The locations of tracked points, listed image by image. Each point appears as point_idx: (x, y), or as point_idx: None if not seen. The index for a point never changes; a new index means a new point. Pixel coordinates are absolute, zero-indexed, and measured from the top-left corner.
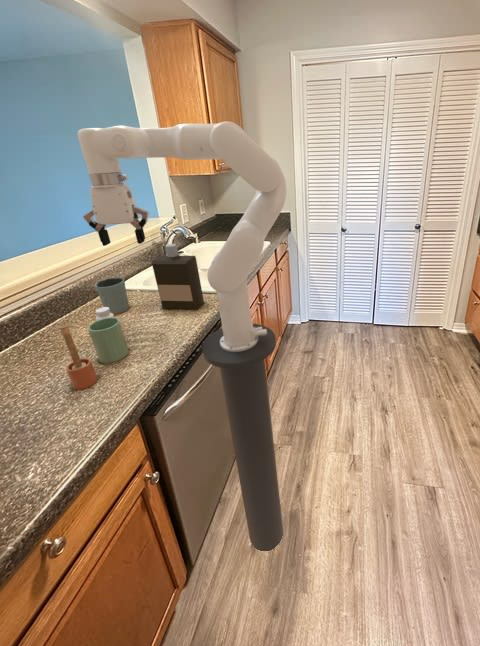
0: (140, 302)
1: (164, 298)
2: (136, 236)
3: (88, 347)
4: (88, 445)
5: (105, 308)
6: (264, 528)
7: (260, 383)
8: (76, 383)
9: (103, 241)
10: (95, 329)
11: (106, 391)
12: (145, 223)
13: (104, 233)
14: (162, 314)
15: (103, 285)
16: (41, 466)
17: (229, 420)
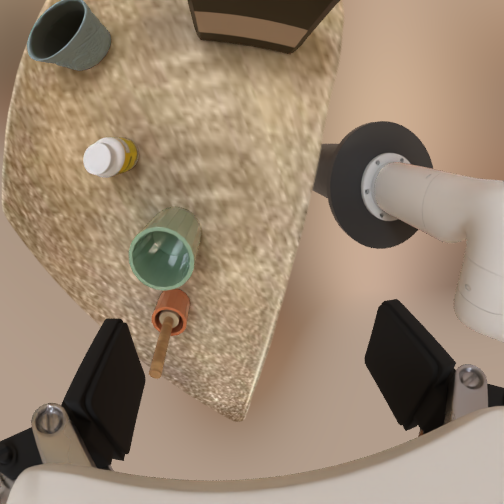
0: (129, 13)
1: (211, 30)
2: (385, 393)
3: (108, 203)
4: (248, 381)
5: (101, 152)
6: None
7: None
8: None
9: (136, 402)
10: (137, 249)
11: (220, 320)
12: (494, 394)
13: (118, 424)
14: (208, 64)
15: (42, 30)
16: (218, 394)
17: None
